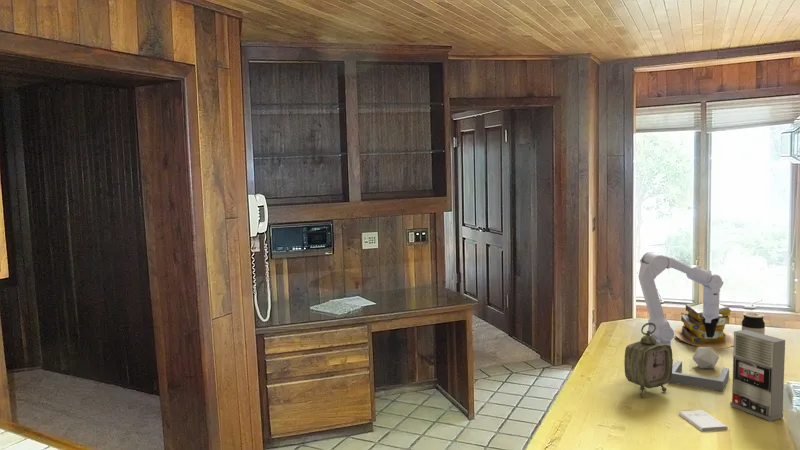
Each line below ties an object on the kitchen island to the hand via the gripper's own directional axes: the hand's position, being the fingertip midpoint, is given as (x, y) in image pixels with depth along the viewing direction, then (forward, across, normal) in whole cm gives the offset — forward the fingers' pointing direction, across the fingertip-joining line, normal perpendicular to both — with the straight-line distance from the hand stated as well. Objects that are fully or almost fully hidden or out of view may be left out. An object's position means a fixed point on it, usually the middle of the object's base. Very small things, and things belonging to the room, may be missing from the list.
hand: (710, 336), depth 245 cm
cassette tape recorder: (+10, -49, -20) cm, 54 cm away
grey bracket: (+9, -26, 0) cm, 28 cm away
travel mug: (+10, +10, -14) cm, 20 cm away
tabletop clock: (+10, -49, +13) cm, 52 cm away
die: (+10, -11, 0) cm, 15 cm away
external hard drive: (+10, -65, -7) cm, 66 cm away
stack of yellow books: (+10, +28, +6) cm, 30 cm away
